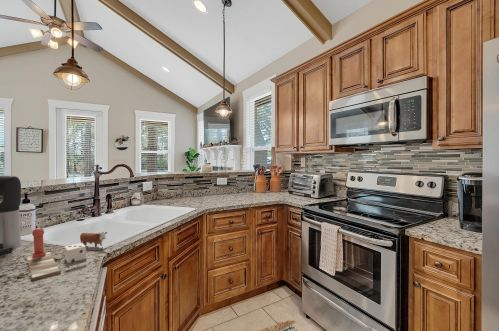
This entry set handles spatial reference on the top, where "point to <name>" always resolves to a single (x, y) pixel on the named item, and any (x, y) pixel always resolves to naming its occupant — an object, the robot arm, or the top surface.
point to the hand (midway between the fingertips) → (7, 247)
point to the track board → (43, 266)
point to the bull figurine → (92, 238)
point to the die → (75, 252)
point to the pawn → (38, 243)
